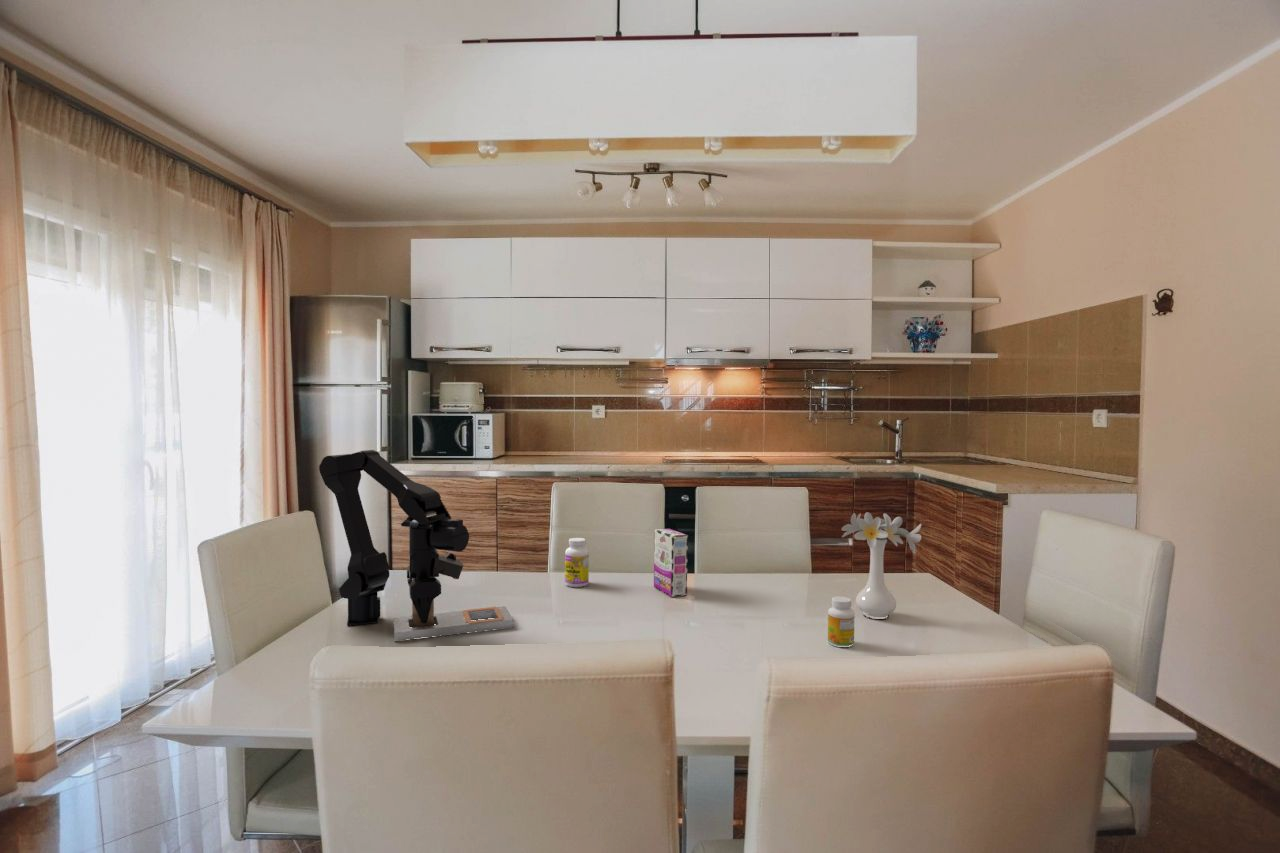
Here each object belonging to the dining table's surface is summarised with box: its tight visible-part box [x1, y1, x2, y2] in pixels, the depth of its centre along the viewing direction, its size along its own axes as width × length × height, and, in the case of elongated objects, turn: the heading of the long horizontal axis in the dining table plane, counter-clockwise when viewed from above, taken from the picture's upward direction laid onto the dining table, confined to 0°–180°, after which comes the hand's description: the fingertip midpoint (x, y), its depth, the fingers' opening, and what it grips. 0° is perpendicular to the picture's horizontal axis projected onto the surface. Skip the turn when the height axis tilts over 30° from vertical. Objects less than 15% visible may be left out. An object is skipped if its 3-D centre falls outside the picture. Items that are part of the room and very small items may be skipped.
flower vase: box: [841, 511, 923, 617], centre depth 157 cm, size 13×18×25 cm
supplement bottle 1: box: [564, 537, 590, 588], centre depth 181 cm, size 7×7×13 cm
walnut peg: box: [411, 599, 435, 628], centre depth 143 cm, size 4×4×9 cm
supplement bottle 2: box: [827, 596, 855, 646], centre depth 138 cm, size 5×5×10 cm
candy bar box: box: [653, 528, 689, 598], centre depth 176 cm, size 11×5×16 cm, turn 25°
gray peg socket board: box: [393, 605, 514, 642], centre depth 146 cm, size 25×10×2 cm, turn 112°
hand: (423, 617), depth 143 cm, fingers open, 8 cm apart
